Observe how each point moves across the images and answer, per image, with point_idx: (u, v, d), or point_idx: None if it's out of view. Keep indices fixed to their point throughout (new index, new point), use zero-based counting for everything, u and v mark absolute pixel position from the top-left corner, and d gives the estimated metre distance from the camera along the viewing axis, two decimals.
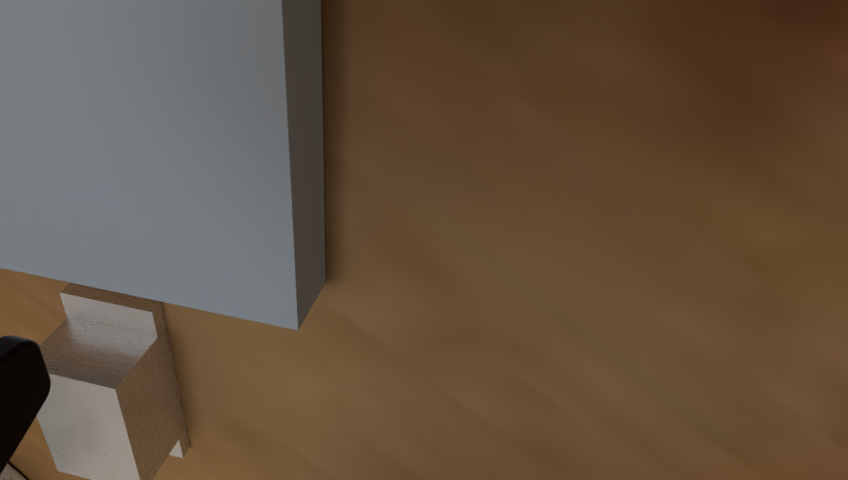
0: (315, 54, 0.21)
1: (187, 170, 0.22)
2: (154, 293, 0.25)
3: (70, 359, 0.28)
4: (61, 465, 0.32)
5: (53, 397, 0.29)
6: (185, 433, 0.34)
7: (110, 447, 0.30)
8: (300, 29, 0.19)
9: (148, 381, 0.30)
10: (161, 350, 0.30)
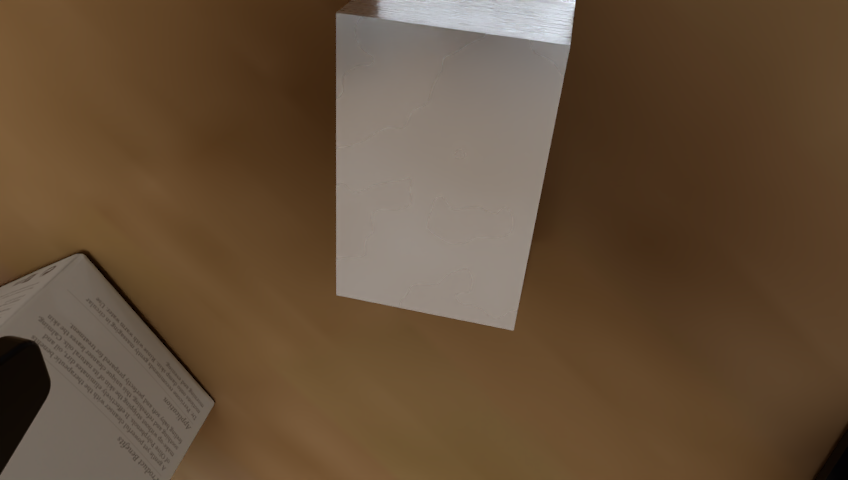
0: None
1: None
2: None
3: (435, 12, 0.13)
4: (349, 280, 0.16)
5: (396, 97, 0.14)
6: None
7: (484, 220, 0.15)
8: None
9: None
10: None
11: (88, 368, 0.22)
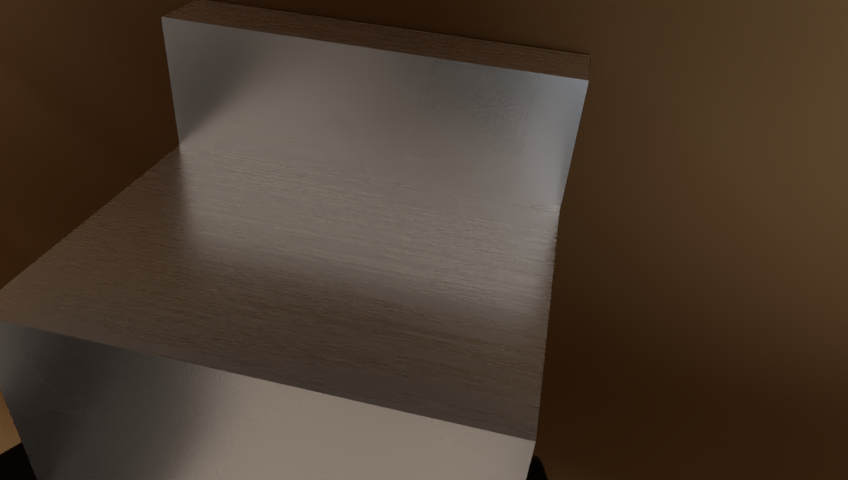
0: None
1: None
2: None
3: (233, 285, 0.06)
4: None
5: (147, 471, 0.06)
6: None
7: None
8: None
9: None
10: None
11: None
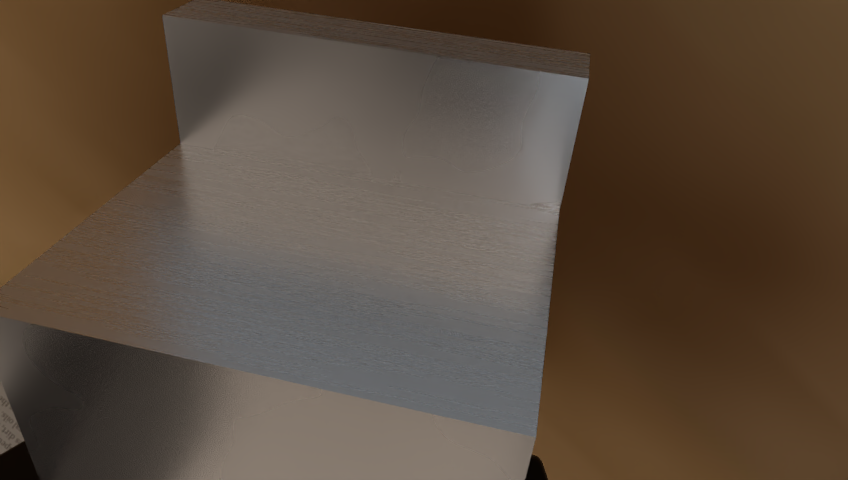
0: None
1: None
2: None
3: (234, 283, 0.06)
4: None
5: (148, 468, 0.06)
6: None
7: None
8: None
9: None
10: None
11: None
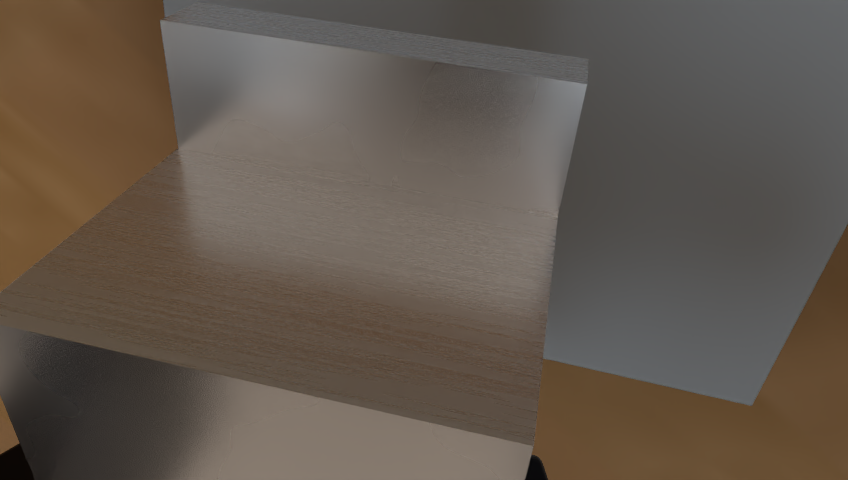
0: None
1: (685, 183, 0.15)
2: None
3: (231, 290, 0.06)
4: None
5: (147, 475, 0.06)
6: None
7: None
8: None
9: None
10: None
11: None
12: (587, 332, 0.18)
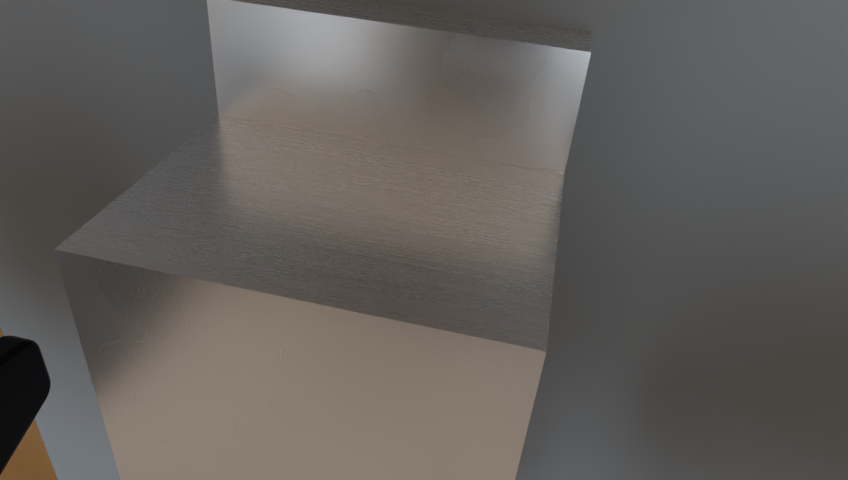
0: None
1: (632, 454, 0.11)
2: None
3: (278, 229, 0.07)
4: None
5: (201, 395, 0.07)
6: None
7: None
8: None
9: None
10: None
11: None
12: None
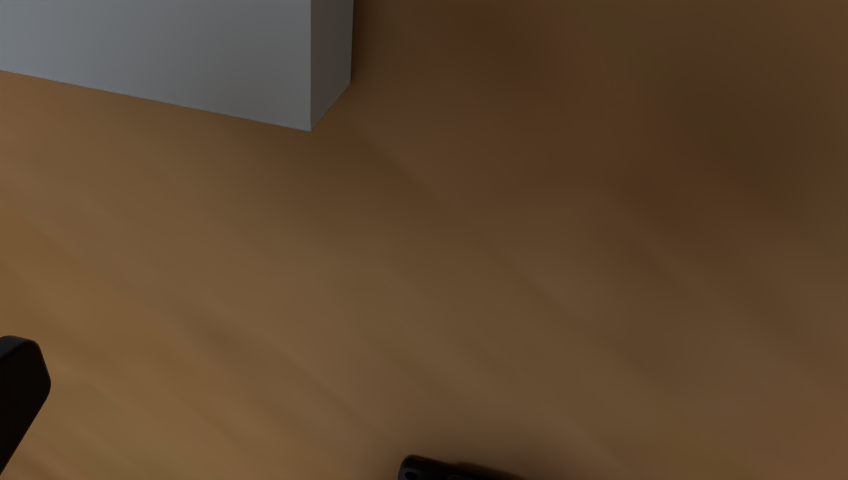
0: None
1: None
2: (82, 73, 0.16)
3: None
4: None
5: None
6: None
7: None
8: None
9: None
10: None
11: None
12: (116, 44, 0.15)
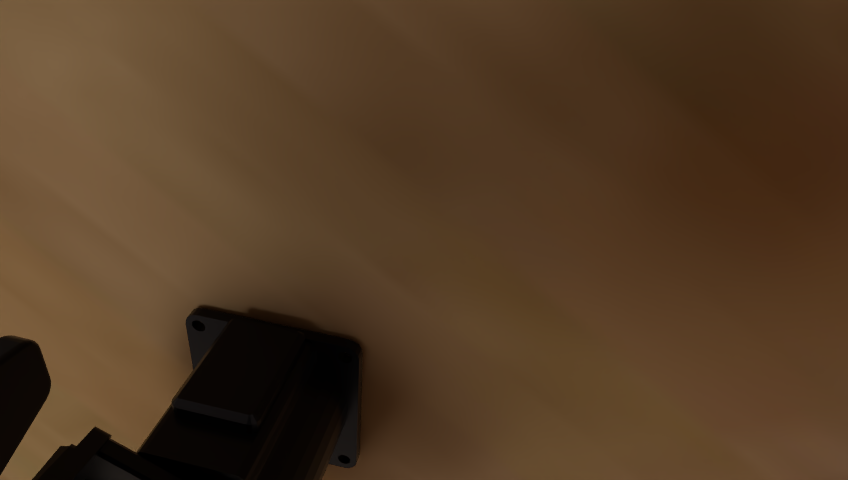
0: None
1: None
2: None
3: None
4: None
5: None
6: None
7: None
8: None
9: None
10: None
11: None
12: None
